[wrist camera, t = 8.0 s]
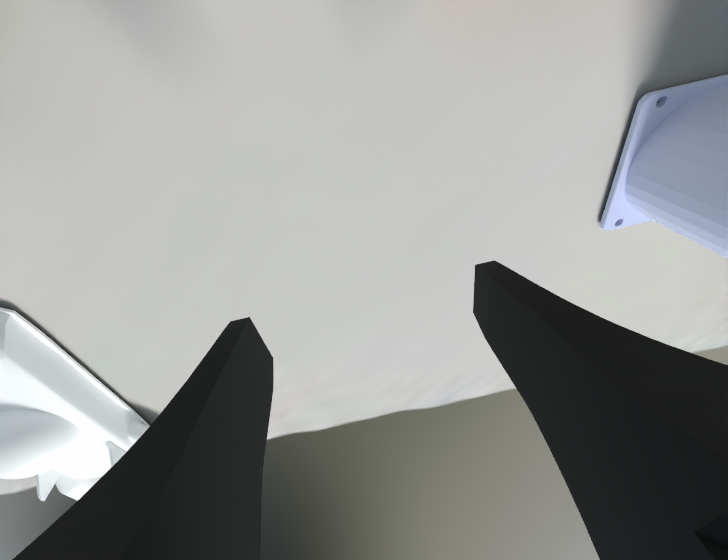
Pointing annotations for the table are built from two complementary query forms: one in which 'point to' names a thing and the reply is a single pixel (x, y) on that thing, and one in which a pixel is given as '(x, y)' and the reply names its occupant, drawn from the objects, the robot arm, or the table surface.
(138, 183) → the table surface
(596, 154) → the table surface
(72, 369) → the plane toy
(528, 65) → the table surface
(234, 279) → the table surface
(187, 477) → the robot arm
